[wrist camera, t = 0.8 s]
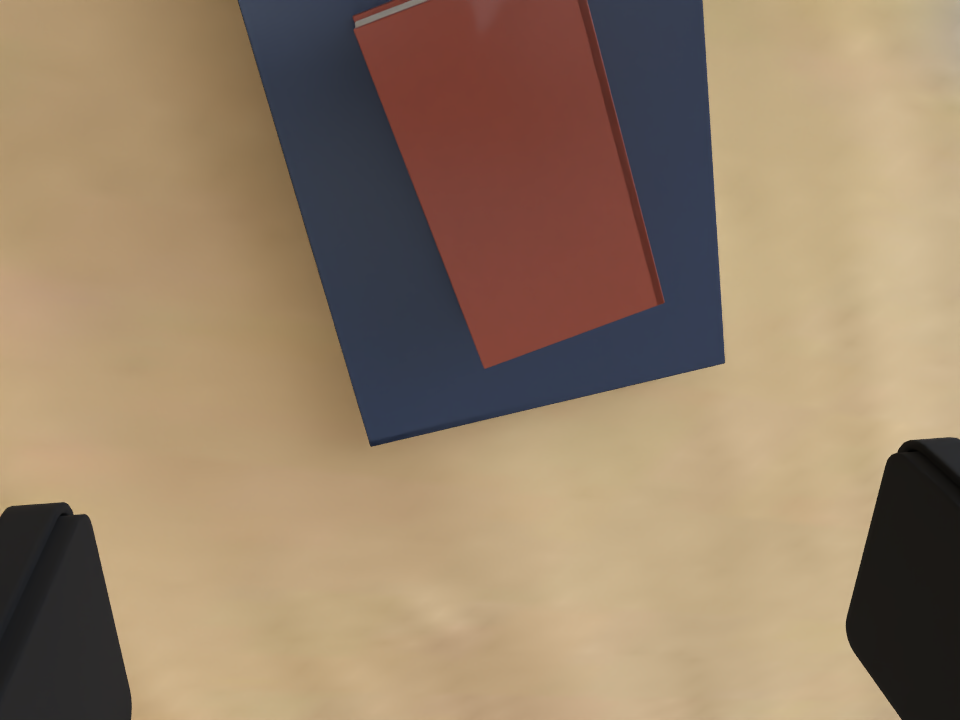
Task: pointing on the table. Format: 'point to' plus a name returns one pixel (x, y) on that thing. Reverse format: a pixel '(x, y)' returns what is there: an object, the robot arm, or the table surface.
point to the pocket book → (514, 164)
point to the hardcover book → (412, 249)
